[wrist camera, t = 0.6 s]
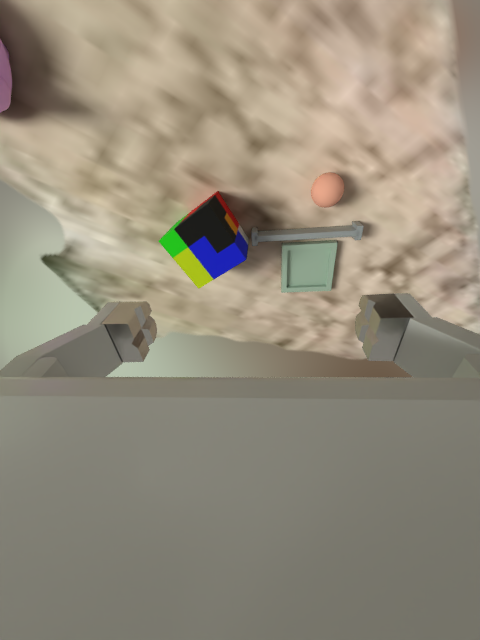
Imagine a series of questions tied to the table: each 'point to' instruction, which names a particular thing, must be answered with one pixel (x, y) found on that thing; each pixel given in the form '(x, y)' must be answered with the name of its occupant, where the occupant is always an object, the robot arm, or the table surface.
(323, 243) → the dish
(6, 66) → the teapot
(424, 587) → the robot arm
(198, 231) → the puzzle toy
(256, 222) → the table surface
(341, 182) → the ball
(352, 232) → the bar with end supports
